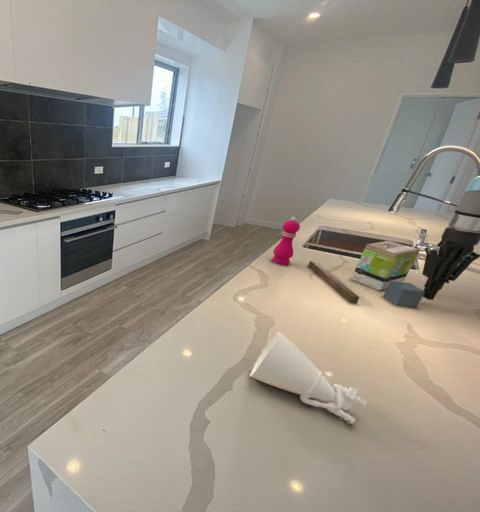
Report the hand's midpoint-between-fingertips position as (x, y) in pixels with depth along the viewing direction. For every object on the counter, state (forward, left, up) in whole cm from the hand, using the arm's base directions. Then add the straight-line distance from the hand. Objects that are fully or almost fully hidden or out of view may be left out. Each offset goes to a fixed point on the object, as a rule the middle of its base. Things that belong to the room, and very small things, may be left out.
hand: (426, 297), depth 98 cm
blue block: (0, +7, -3) cm, 8 cm away
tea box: (+15, +5, -3) cm, 16 cm away
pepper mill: (+26, +35, -3) cm, 44 cm away
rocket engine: (-51, +59, -3) cm, 78 cm away
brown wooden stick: (+10, +24, -3) cm, 26 cm away
